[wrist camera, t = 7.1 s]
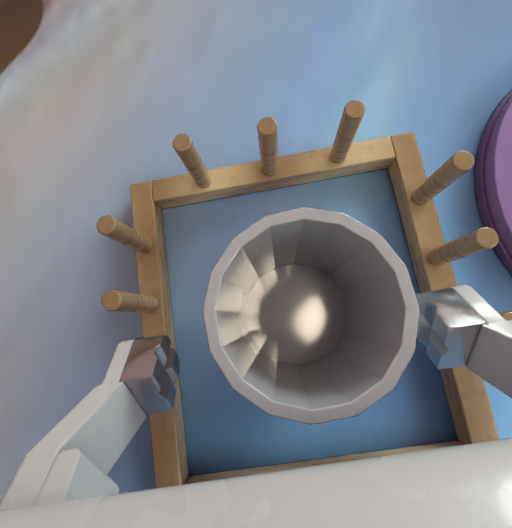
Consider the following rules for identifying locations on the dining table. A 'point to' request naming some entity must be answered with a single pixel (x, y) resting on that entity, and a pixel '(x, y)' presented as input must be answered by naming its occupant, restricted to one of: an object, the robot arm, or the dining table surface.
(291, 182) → the drying rack
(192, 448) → the dining table surface
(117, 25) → the dining table surface
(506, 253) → the purple disc candle holder
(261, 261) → the steel cup
